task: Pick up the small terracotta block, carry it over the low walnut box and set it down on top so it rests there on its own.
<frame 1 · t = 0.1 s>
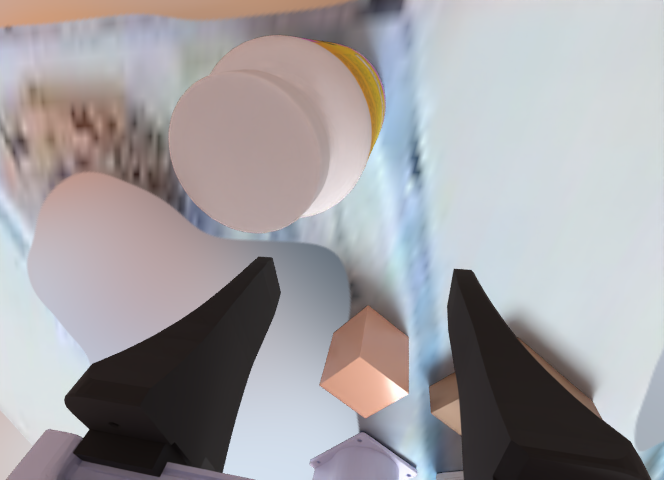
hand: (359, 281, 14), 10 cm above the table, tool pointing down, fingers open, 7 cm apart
supplement bottle: (331, 105, 21), on the table
walnut box: (505, 389, 29), on the table
terracotta block: (370, 334, 29), on the table
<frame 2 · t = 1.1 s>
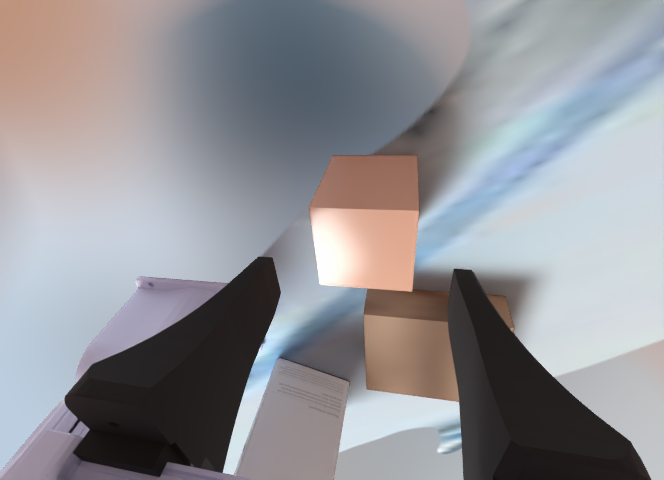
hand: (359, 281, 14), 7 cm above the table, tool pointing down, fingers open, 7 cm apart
supplement box: (305, 384, 34), on the table
walnut box: (428, 329, 26), on the table
terracotta block: (374, 192, 20), on the table
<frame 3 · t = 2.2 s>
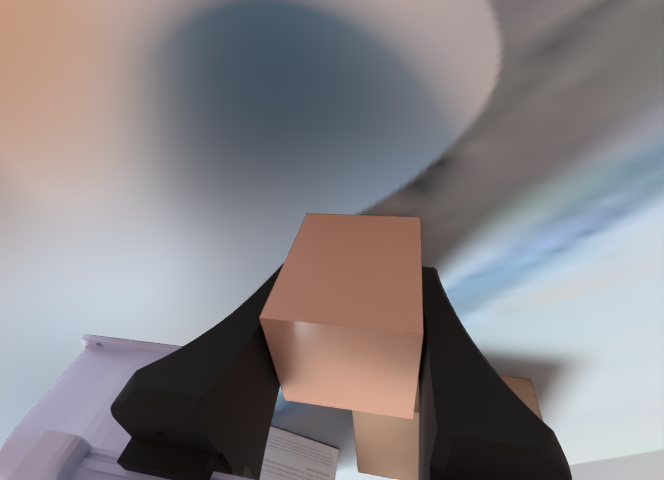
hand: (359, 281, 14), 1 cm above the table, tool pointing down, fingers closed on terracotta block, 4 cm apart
supplement box: (289, 446, 29), on the table
walnut box: (432, 403, 22), on the table
terracotta block: (363, 258, 15), on the table, touching gripper
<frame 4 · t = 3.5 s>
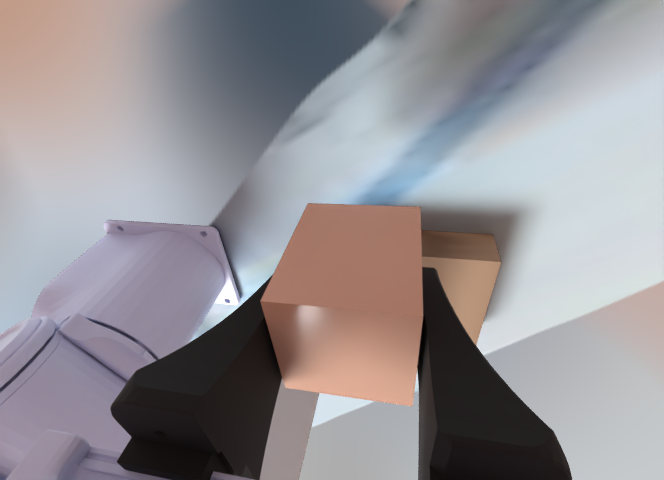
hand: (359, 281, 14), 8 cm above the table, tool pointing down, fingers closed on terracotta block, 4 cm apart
supplement box: (286, 345, 33), on the table
walnut box: (412, 277, 25), on the table
terracotta block: (363, 249, 15), point 7 cm above the table, touching gripper
when the fingers open (5 cm above the table, at t = 4.9 s): terracotta block drops 1 cm, point 2 cm above the table.
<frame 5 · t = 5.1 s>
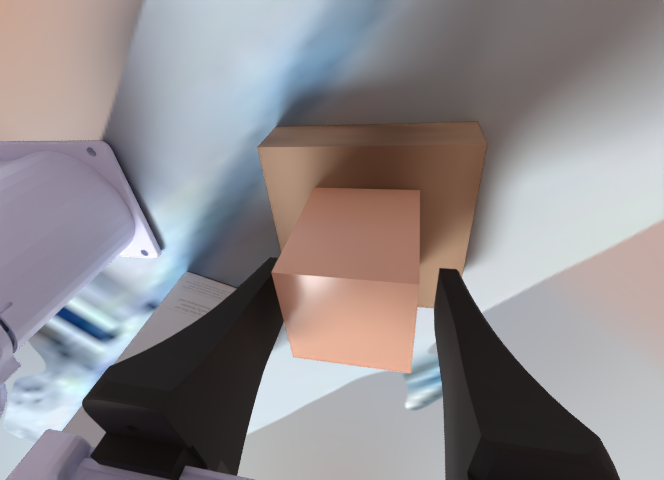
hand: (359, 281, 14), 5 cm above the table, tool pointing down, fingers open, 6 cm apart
supplement box: (230, 314, 26), on the table
walnut box: (373, 204, 18), on the table
terracotta block: (366, 231, 16), point 2 cm above the table
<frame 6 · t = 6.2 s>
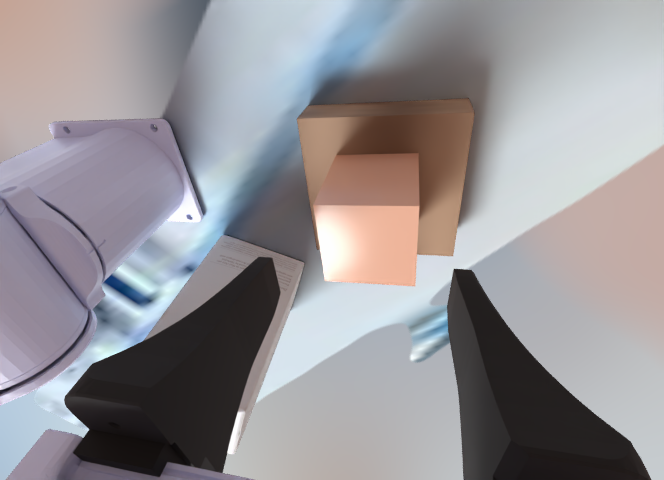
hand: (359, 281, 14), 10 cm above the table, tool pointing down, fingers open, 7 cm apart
supplement box: (258, 274, 30), on the table
walnut box: (385, 170, 22), on the table
terracotta block: (377, 190, 20), point 2 cm above the table
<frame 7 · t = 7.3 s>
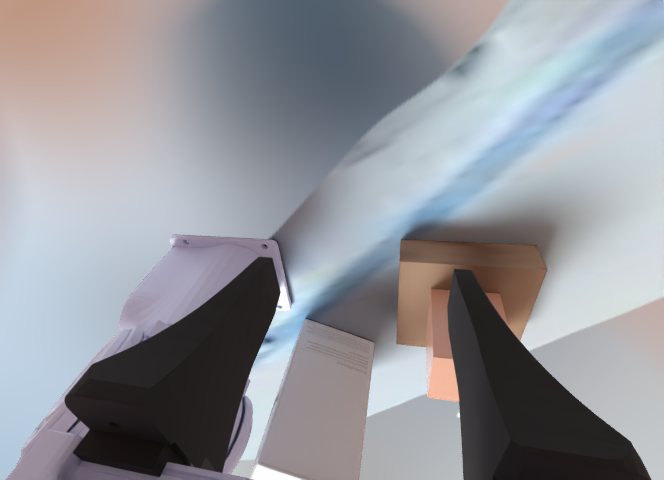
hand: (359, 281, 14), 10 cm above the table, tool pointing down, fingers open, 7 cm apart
supplement box: (330, 347, 35), on the table
walnut box: (456, 283, 27), on the table
terracotta block: (460, 313, 25), point 2 cm above the table
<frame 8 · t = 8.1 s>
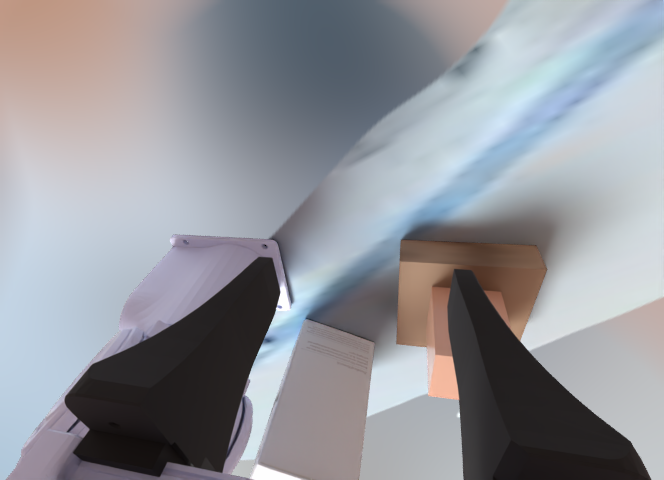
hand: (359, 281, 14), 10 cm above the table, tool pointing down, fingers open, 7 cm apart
supplement box: (330, 347, 35), on the table
walnut box: (456, 283, 27), on the table, touching terracotta block
terracotta block: (460, 311, 25), point 2 cm above the table, touching walnut box
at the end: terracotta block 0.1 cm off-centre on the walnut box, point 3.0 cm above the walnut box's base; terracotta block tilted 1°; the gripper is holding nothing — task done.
